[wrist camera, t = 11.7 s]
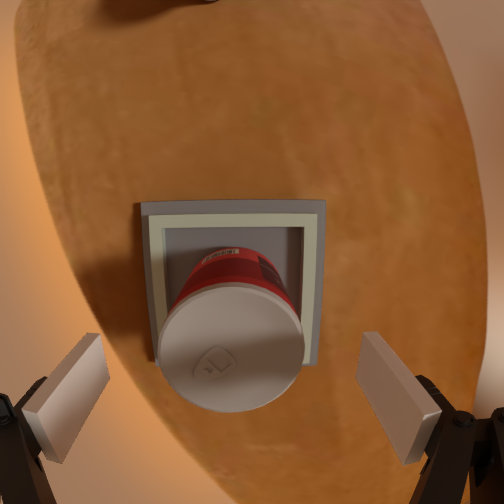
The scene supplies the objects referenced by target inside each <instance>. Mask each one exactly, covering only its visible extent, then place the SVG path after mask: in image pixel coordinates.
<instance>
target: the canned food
mask: <svg viewBox="0 0 504 504" xmlns="http://www.w3.org/2000/svg"><path fill="white" fill-rule="evenodd" d="M157 353H158V359H159V365H160V368H161V370H162V373H163V375H164V377H165V379H166V380H167V382H168V383H169V385H170V386H171V387H172V388H173V389H174V390H175V391H176V392H177V393H178V394H179V395H180V396H181V397H183V398H184V399H186V400H187V401H189V402H190V403H192V404H195V405H197V406H199V407H201V408H205V409H208V410H212V411H218V412H242V411H247V410H252V409H255V408H258V407H261V406H263V405H266V404H267V403H269V402H271V401H273V400H274V399H276V398H278V397H279V396H280V395H281V394H282V393H284V392H285V391H286V390H287V389H288V388H289V387H290V385H291V384H292V383H293V382H294V381H295V379H296V377H297V375H298V373H299V372H300V370H301V367H302V363H303V360H304V354H305V342H304V335H303V329H302V326H301V324H300V321H299V318H298V316H297V313H296V311H295V309H294V306H293V304H292V302H291V300H290V298H289V295H288V293H287V291H286V289H285V287H284V284H283V282H282V280H281V278H280V276H279V273H278V271H277V269H276V268H275V267H274V265H273V264H272V262H271V261H269V260H268V259H267V258H266V257H265V256H264V255H262V254H260V253H258V252H257V251H254V250H251V249H248V248H242V247H227V248H224V249H220V250H217V251H215V252H213V253H211V254H209V255H207V256H206V257H205V258H203V259H202V260H201V261H200V262H199V263H198V264H197V265H196V266H195V267H194V269H193V271H192V272H191V274H190V276H189V277H188V279H187V281H186V283H185V285H184V286H183V288H182V290H181V292H180V293H179V295H178V297H177V299H176V300H175V302H174V304H173V306H172V308H171V309H170V311H169V313H168V315H167V318H166V319H165V321H164V323H163V326H162V329H161V333H160V336H159V340H158V352H157Z"/></svg>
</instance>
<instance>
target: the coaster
mask: <svg viewBox="0 0 504 504" xmlns="http://www.w3.org/2000/svg"><path fill="white" fill-rule="evenodd" d="M141 223H142V242H143V257H144V270H145V282H146V292H147V302H148V311H149V320H150V328H151V336H152V343H153V350H154V357H155V364H156V366H158V367H160V365H159V359H158V353H157V352H158V340H159V336H160V333H161V329H162V326H163V323H164V321H165V319H166V318H167V315H168V313H169V311H170V309H171V308H172V306H173V304H174V302H175V300H176V299H177V297H178V295H179V293H180V292H181V290H182V288H183V286H184V285H185V283H186V281H187V279H188V277H189V276H190V274H191V272H192V271H193V269H194V267H195V266H196V265H197V264H198V263H199V262H200V261H201V260H202V259H203V258H205V257H206V256H207V255H209V254H211V253H213V252H215V251H217V250H220V249H224V248H227V247H242V248H248V249H251V250H254V251H257V252H258V253H260V254H262V255H264V256H265V257H266V258H267V259H268V260H269V261H271V262H272V264H273V265H274V267H275V268H276V269H277V271H278V273H279V276H280V278H281V280H282V282H283V284H284V287H285V289H286V291H287V293H288V295H289V298H290V300H291V302H292V304H293V306H294V309H295V311H296V313H297V316H298V318H299V321H300V324H301V326H302V329H303V335H304V342H305V354H304V360H303V363H302V366H311V365H317V355H318V344H319V333H320V320H321V307H322V291H323V274H324V253H325V225H326V200H300V199H225V200H180V201H153V202H141Z"/></svg>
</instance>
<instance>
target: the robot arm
mask: <svg viewBox="0 0 504 504" xmlns="http://www.w3.org/2000/svg"><path fill="white" fill-rule="evenodd" d="M356 379H357V381H358V383H359V385H360V387H361V388H362V390H363V392H364V394H365V396H366V398H367V399H368V401H369V403H370V405H371V407H372V409H373V410H374V412H375V414H376V416H377V418H378V420H379V421H380V423H381V425H382V427H383V429H384V431H385V433H386V435H387V436H388V438H389V440H390V442H391V444H392V446H393V448H394V450H395V451H396V453H397V455H398V457H399V459H400V461H401V463H402V465H403V466H404V465H408V464H411V463H415V462H418V461H420V459H421V457H422V455H423V453H424V451H425V453H426V454H427V456H428V459H427V461H426V463H425V465H424V467H423V469H422V471H421V472H420V474H421V476H420V479H419V481H418V484H417V486H416V488H415V491H414V493H413V495H412V498H411V500H410V502H409V504H460V503H461V499H462V496H463V492H464V488H465V484H466V480H467V476H468V471H469V481H470V502H471V503H470V504H504V407H502V408H497V409H496V410H494V412H493V413H492V415H491V418H487V419H475V417H474V416H473V415H472V414H470V413H469V412H466V411H459V410H458V411H456V410H455V409H454V407H453V406H452V405H451V404H450V403H449V401H448V400H447V399H446V398H445V397H444V396H443V394H441V392H440V391H439V390H438V389H437V388H436V386H435V385H434V384H433V383H432V382H431V380H429V379H427V378H426V377H424V376H422V375H418V376H414V375H413V374H412V373H411V371H410V370H409V369H408V368H407V367H406V365H405V364H404V363H403V362H402V361H401V359H400V358H399V357H398V356H397V355H396V353H395V352H394V351H393V350H392V349H391V347H390V346H389V345H388V344H387V343H386V342H385V340H384V339H383V338H382V337H381V336H380V334H379V333H378V332H377V331H374V332H363V336H362V343H361V349H360V355H359V361H358V367H357V372H356ZM109 380H110V376H109V372H108V368H107V363H106V359H105V355H104V350H103V346H102V341H101V336H100V334H96V333H87V334H86V335H85V336H84V337H83V338H82V339H81V340H80V341H79V342H78V344H77V345H76V346H75V347H74V348H73V349H72V350H71V351H70V352H69V354H68V355H67V356H66V357H65V358H64V359H63V360H62V362H61V363H60V364H59V365H58V366H57V367H56V369H55V370H54V371H53V372H52V373H51V374H50V375H49V377H43V378H41V379H39V380H38V381H36V382H35V383H34V384H33V386H32V387H31V388H30V389H29V390H28V391H27V392H26V395H24V396H23V397H22V398H21V399H20V401H19V402H18V403H17V404H16V405H15V406H14V407H13V406H12V404H11V402H10V399H9V397H8V396H7V395H5V394H2V393H0V497H1V496H2V500H3V504H57V503H56V501H55V498H54V496H53V493H52V491H51V488H50V485H49V483H48V480H47V477H46V474H45V471H44V468H43V466H42V463H41V460H40V458H39V457H38V455H39V453H40V452H41V450H42V452H43V453H44V455H45V457H46V459H47V460H50V461H54V462H57V463H60V464H62V463H63V461H64V459H65V457H66V455H67V454H68V452H69V450H70V448H71V446H72V444H73V443H74V441H75V439H76V437H77V435H78V433H79V432H80V430H81V428H82V426H83V424H84V423H85V421H86V419H87V417H88V416H89V414H90V412H91V410H92V409H93V407H94V405H95V403H96V401H97V400H98V398H99V396H100V394H101V393H102V391H103V390H104V388H105V386H106V384H107V383H108V381H109Z"/></svg>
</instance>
